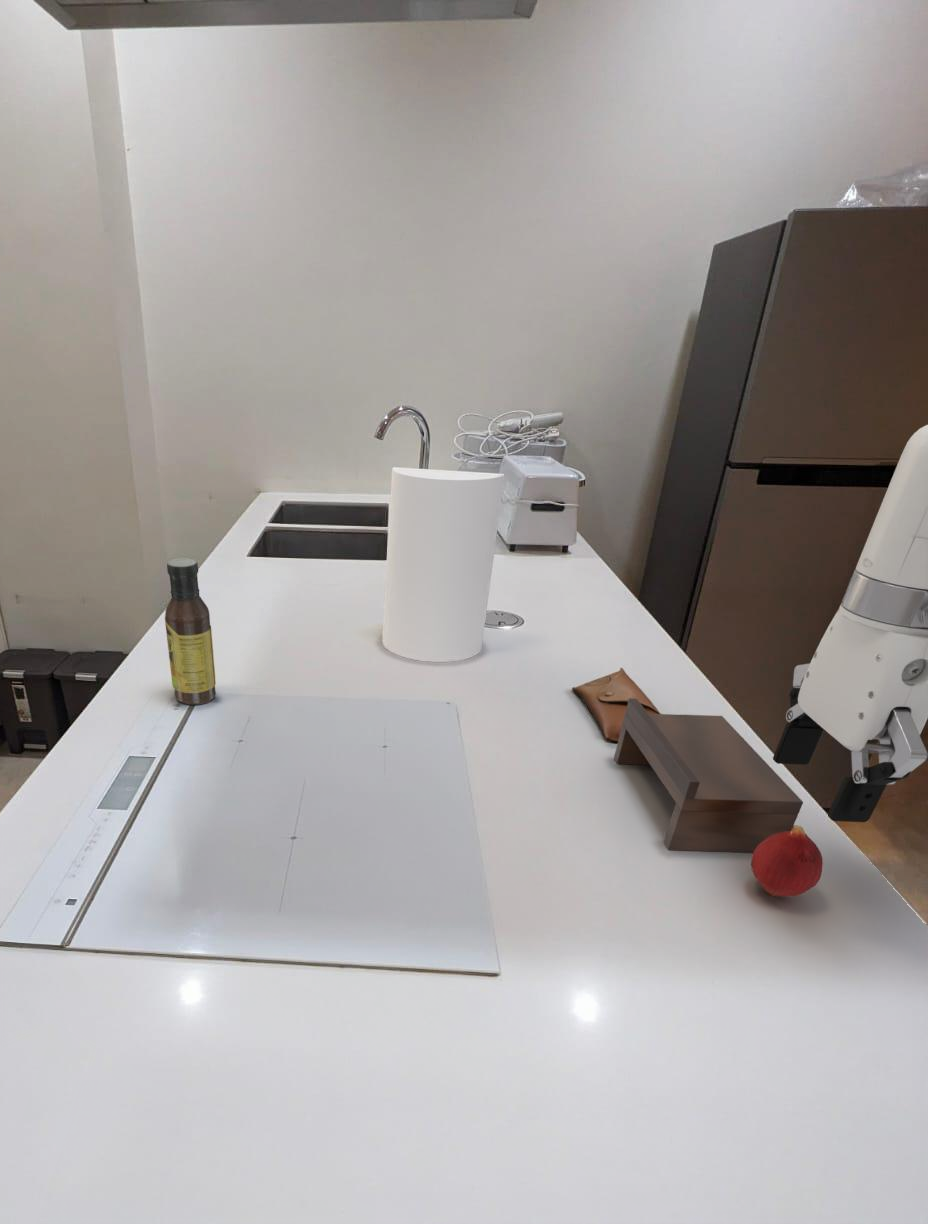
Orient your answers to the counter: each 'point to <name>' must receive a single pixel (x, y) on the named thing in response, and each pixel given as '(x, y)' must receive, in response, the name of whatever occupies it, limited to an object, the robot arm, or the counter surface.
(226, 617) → the counter surface
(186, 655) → the sauce bottle
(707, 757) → the shelf
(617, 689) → the sunglasses case
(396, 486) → the cylinder
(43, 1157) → the counter surface
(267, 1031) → the counter surface
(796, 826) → the onion
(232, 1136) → the counter surface
